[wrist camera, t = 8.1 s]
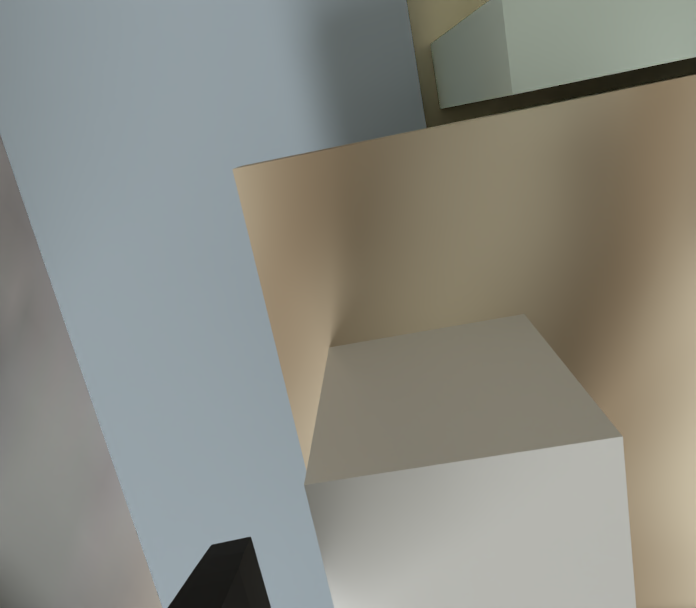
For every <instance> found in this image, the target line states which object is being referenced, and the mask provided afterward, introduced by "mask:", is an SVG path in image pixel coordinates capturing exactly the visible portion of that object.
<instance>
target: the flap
mask: <svg viewBox="0 0 696 608" xmlns="http://www.w3.org/2000/svg"><path fill="white" fill-rule="evenodd" d="M232 170H233V174H234V178H235V182H236V186H237V190H238V195H239V199H240V203H241V207H242V211H243V215H244V219H245V223H246V227H247V231H248V235H249V239H250V243H251V247H252V252H253V256H254V260H255V264H256V268H257V272H258V276H259V280H260V284H261V288H262V292H263V296H264V300H265V304H266V309H267V313H268V317H269V321H270V325H271V329H272V333H273V337H274V341H275V345H276V349H277V353H278V357H279V362H280V366H281V370H282V374H283V378H284V382H285V386H286V390H287V394H288V398H289V402H290V406H291V410H292V414H293V419H294V423H295V427H296V431H297V435H298V439H299V443H300V447H301V451H302V455H303V459H304V463H305V467H306V471H307V466H308V460H309V455H310V449H311V444H312V438H313V433H314V427H315V422H316V416H317V411H318V405H319V400H320V394H321V389H322V383H323V378H324V372H325V367H326V361H327V356H328V350H329V347H334V346H340V345H346V344H352V343H358V342H363V341H369V340H375V339H381V338H387V337H392V336H398V335H404V334H410V333H416V332H422V331H427V330H433V329H439V328H445V327H451V326H456V325H462V324H468V323H474V322H480V321H486V320H491V319H497V318H503V317H509V316H515V315H520V314H525V315H526V317H527V318H528V319H529V320H530V322H531V323H532V324H533V325H534V327H535V328H536V329H537V330H538V332H539V333H540V334H541V335H542V337H543V338H544V339H545V340H546V342H547V343H548V344H549V345H550V347H551V348H552V349H553V350H554V351H555V353H556V354H557V355H558V356H559V358H560V359H561V360H562V361H563V363H564V364H565V365H566V366H567V368H568V369H569V370H570V371H571V373H572V374H573V375H574V376H575V378H576V379H577V380H578V381H579V383H580V384H581V385H582V386H583V388H584V389H585V390H586V391H587V393H588V394H589V395H590V396H591V398H592V399H593V400H594V401H595V403H596V404H597V405H598V406H599V407H600V409H601V410H602V411H603V412H604V414H605V415H606V416H607V417H608V419H609V420H610V421H611V422H612V424H613V425H614V426H615V427H616V429H617V430H618V431H619V432H620V434H621V435H622V436H623V446H624V459H625V471H626V484H627V497H628V510H629V522H630V535H631V548H632V561H633V573H634V586H635V599H636V608H696V73H694V74H689V75H684V76H679V77H675V78H670V79H665V80H660V81H655V82H650V83H645V84H640V85H635V86H630V87H626V88H621V89H616V90H611V91H606V92H601V93H596V94H591V95H586V96H581V97H577V98H572V99H567V100H562V101H557V102H552V103H547V104H542V105H537V106H532V107H527V108H523V109H518V110H513V111H508V112H503V113H498V114H493V115H488V116H483V117H478V118H474V119H469V120H464V121H459V122H454V123H449V124H444V125H439V126H434V127H429V128H425V129H420V130H415V131H410V132H405V133H400V134H395V135H390V136H385V137H380V138H375V139H371V140H366V141H361V142H356V143H351V144H346V145H341V146H336V147H331V148H326V149H322V150H317V151H312V152H307V153H302V154H297V155H292V156H287V157H282V158H277V159H273V160H268V161H263V162H258V163H253V164H248V165H243V166H240V167H237V168H234V169H232Z"/></svg>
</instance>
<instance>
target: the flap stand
mask: <svg viewBox="0 0 696 608" xmlns="http://www.w3.org/2000/svg"><path fill="white" fill-rule="evenodd" d="M430 45H431V52H432V59H433V65H434V72H435V79H436V85H437V92H438V99H439V106H440V109H442V108H447V107H453V106H458V105H463V104H468V103H473V102H478V101H483V100H489V99H494V98H499V97H504V96H509V95H514V94H519V93H524V92H529V91H534V90H538V89H543V88H548V87H553V86H558V85H563V84H568V83H572V82H577V81H582V80H587V79H592V78H597V77H601V76H606V75H611V74H616V73H621V72H626V71H630V70H635V69H640V68H645V67H650V66H655V65H660V64H664V63H669V62H674V61H679V60H684V59H689V58H693V57H696V0H489V1H488V2H486V3H485V4H484V5H482V6H481V7H480V8H478V9H477V10H476V11H474V12H473V13H472V14H470V15H469V16H468V17H466V18H465V19H464V20H462V21H461V22H460V23H458V24H457V25H456V26H454V27H453V28H452V29H450V30H449V31H448V32H446V33H445V34H444V35H442V36H441V37H440V38H438V39H437V40H436V41H434V42H433V43H432V44H430Z"/></svg>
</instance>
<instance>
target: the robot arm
mask: <svg viewBox="0 0 696 608" xmlns="http://www.w3.org/2000/svg"><path fill="white" fill-rule="evenodd" d="M168 608H271V606H270V602H269V598H268V595H267V591H266V588H265V584H264V581H263V577H262V574H261V570H260V567H259V563H258V560H257V556H256V553H255V549H254V546H253V542H252V539H251V537H246V538H241V539H236V540H231V541H227V542H222V543H217V544H212V545H211V546H210V547H209V549H208V550H207V551H206V553H205V554H204V556H203V557H202V558H201V560H200V561H199V563H198V564H197V566H196V567H195V568H194V570H193V571H192V573H191V574H190V576H189V577H188V579H187V580H186V582H185V583H184V584H183V586H182V587H181V589H180V590H179V592H178V593H177V595H176V596H175V598H174V599H173V601H172V602H171V603H170V605H169V606H168Z"/></svg>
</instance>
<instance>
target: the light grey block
mask: <svg viewBox="0 0 696 608" xmlns="http://www.w3.org/2000/svg"><path fill="white" fill-rule="evenodd" d="M304 487H305V491H306V495H307V499H308V503H309V507H310V512H311V516H312V520H313V524H314V528H315V532H316V536H317V540H318V544H319V548H320V552H321V556H322V560H323V565H324V569H325V573H326V577H327V581H328V585H329V589H330V593H331V597H332V601H333V605H334V608H636V599H635V586H634V573H633V561H632V548H631V535H630V522H629V510H628V497H627V484H626V471H625V459H624V446H623V436H622V435H621V434H620V432H619V431H618V430H617V429H616V427H615V426H614V425H613V424H612V422H611V421H610V420H609V419H608V417H607V416H606V415H605V414H604V412H603V411H602V410H601V409H600V407H599V406H598V405H597V404H596V403H595V401H594V400H593V399H592V398H591V396H590V395H589V394H588V393H587V391H586V390H585V389H584V388H583V386H582V385H581V384H580V383H579V381H578V380H577V379H576V378H575V376H574V375H573V374H572V373H571V371H570V370H569V369H568V368H567V366H566V365H565V364H564V363H563V361H562V360H561V359H560V358H559V356H558V355H557V354H556V353H555V351H554V350H553V349H552V348H551V347H550V345H549V344H548V343H547V342H546V340H545V339H544V338H543V337H542V335H541V334H540V333H539V332H538V330H537V329H536V328H535V327H534V325H533V324H532V323H531V322H530V320H529V319H528V318H527V317H526V315H525V314H520V315H515V316H509V317H503V318H497V319H491V320H486V321H480V322H474V323H468V324H462V325H456V326H451V327H445V328H439V329H433V330H427V331H422V332H416V333H410V334H404V335H398V336H392V337H387V338H381V339H375V340H369V341H363V342H358V343H352V344H346V345H340V346H334V347H329V350H328V356H327V361H326V367H325V372H324V378H323V383H322V389H321V394H320V400H319V405H318V411H317V416H316V422H315V427H314V433H313V438H312V444H311V449H310V455H309V460H308V466H307V471H306V477H305V482H304Z"/></svg>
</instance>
